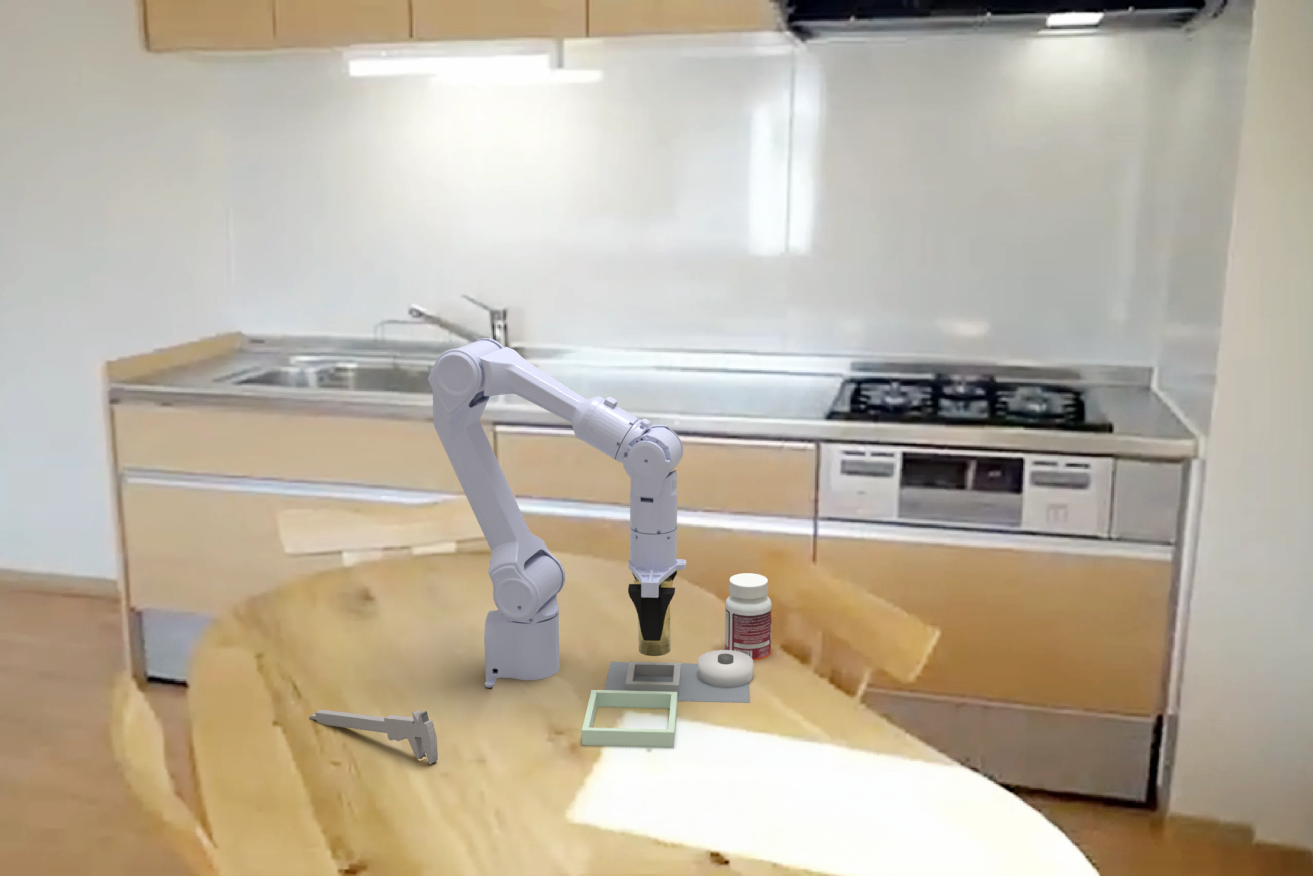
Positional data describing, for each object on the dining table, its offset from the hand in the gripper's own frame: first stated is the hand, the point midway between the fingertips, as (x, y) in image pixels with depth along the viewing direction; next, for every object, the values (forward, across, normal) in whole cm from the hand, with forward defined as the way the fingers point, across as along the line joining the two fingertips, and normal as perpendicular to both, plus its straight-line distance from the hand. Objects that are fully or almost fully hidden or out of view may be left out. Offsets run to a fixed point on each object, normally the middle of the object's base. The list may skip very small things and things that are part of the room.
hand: (653, 631), depth 153 cm
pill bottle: (+8, +11, -12) cm, 18 cm away
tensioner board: (+8, +1, -3) cm, 9 cm away
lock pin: (+2, 0, 0) cm, 2 cm away
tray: (+8, -11, +2) cm, 14 cm away
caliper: (+9, -14, +32) cm, 36 cm away
